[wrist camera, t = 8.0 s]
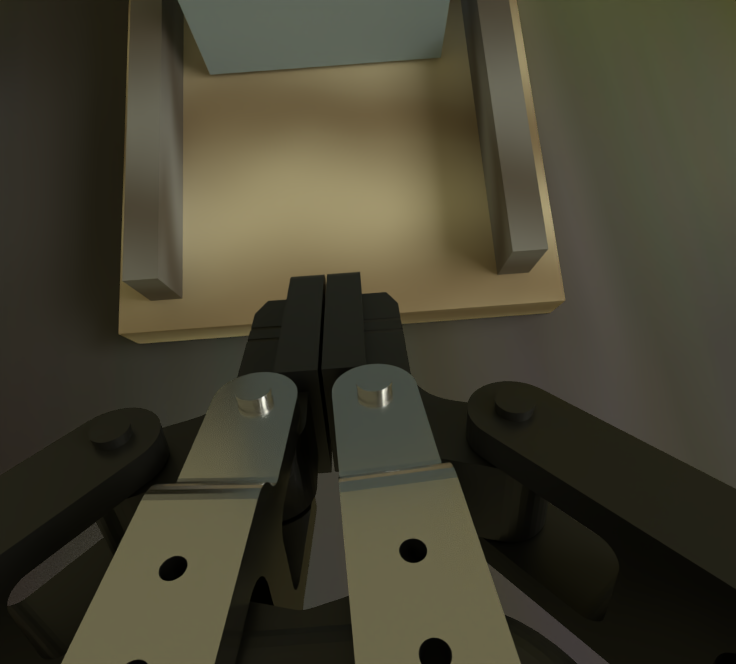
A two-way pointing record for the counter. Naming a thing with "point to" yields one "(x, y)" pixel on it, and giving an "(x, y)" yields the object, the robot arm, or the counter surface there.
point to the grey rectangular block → (313, 32)
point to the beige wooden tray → (332, 180)
